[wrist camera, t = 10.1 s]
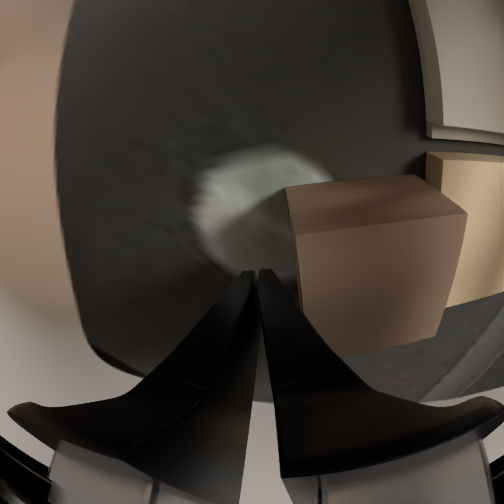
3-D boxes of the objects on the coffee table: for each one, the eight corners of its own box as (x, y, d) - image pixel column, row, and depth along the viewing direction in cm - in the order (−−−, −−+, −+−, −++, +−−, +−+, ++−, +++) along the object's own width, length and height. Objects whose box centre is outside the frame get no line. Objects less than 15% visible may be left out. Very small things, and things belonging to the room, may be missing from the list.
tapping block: (414, 174, 9) (467, 213, 6) (404, 280, 11) (434, 336, 8) (285, 187, 9) (295, 235, 6) (299, 297, 12) (307, 362, 9)
